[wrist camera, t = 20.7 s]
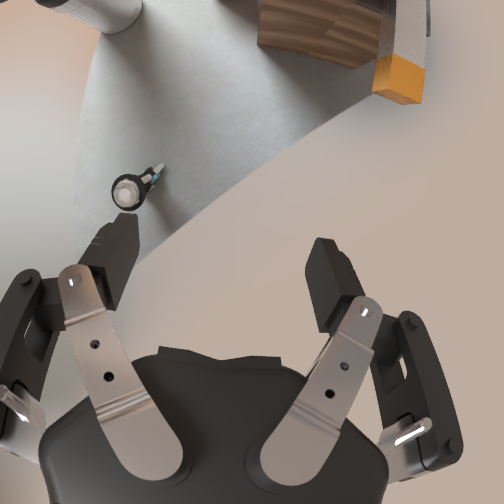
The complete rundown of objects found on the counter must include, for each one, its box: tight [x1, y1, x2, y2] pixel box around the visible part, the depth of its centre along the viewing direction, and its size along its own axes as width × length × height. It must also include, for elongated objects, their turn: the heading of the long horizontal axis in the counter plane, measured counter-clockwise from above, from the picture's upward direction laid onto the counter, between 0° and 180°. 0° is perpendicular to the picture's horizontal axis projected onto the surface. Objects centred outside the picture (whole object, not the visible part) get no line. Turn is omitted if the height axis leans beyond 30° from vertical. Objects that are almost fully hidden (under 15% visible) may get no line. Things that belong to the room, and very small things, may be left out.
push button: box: [111, 163, 165, 211], centre depth 38 cm, size 7×5×10 cm
